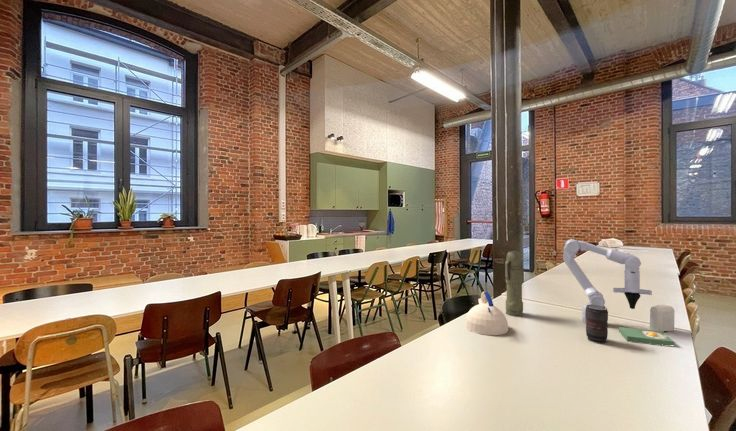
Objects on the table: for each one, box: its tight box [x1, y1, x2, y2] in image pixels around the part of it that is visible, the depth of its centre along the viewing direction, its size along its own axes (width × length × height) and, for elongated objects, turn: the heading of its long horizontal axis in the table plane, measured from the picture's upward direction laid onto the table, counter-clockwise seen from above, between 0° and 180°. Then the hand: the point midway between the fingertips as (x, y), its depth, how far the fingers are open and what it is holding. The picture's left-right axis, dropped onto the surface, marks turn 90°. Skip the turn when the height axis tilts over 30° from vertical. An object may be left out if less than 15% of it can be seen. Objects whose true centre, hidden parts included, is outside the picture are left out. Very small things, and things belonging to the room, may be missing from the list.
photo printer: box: [649, 303, 675, 333], centre depth 154 cm, size 10×4×12 cm, turn 98°
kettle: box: [464, 291, 509, 336], centre depth 161 cm, size 20×21×18 cm
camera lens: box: [585, 304, 609, 344], centre depth 143 cm, size 8×8×15 cm
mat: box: [618, 326, 676, 346], centre depth 144 cm, size 16×12×2 cm
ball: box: [647, 332, 658, 337], centre depth 143 cm, size 4×4×4 cm
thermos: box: [504, 250, 524, 317], centre depth 181 cm, size 9×12×35 cm
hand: (632, 308), depth 157 cm, fingers closed
